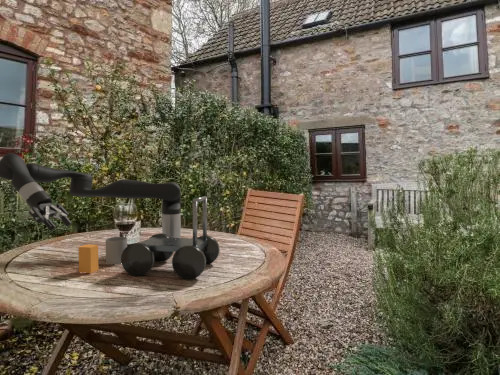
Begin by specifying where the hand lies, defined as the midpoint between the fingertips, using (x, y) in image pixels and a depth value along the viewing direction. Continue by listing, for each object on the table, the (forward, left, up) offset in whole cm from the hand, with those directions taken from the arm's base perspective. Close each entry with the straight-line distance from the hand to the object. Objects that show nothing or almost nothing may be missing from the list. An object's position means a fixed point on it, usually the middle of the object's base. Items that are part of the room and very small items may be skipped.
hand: (61, 226), depth 125 cm
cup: (0, +20, -17) cm, 26 cm away
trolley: (+23, +36, -17) cm, 46 cm away
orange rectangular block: (+8, +8, -17) cm, 20 cm away
